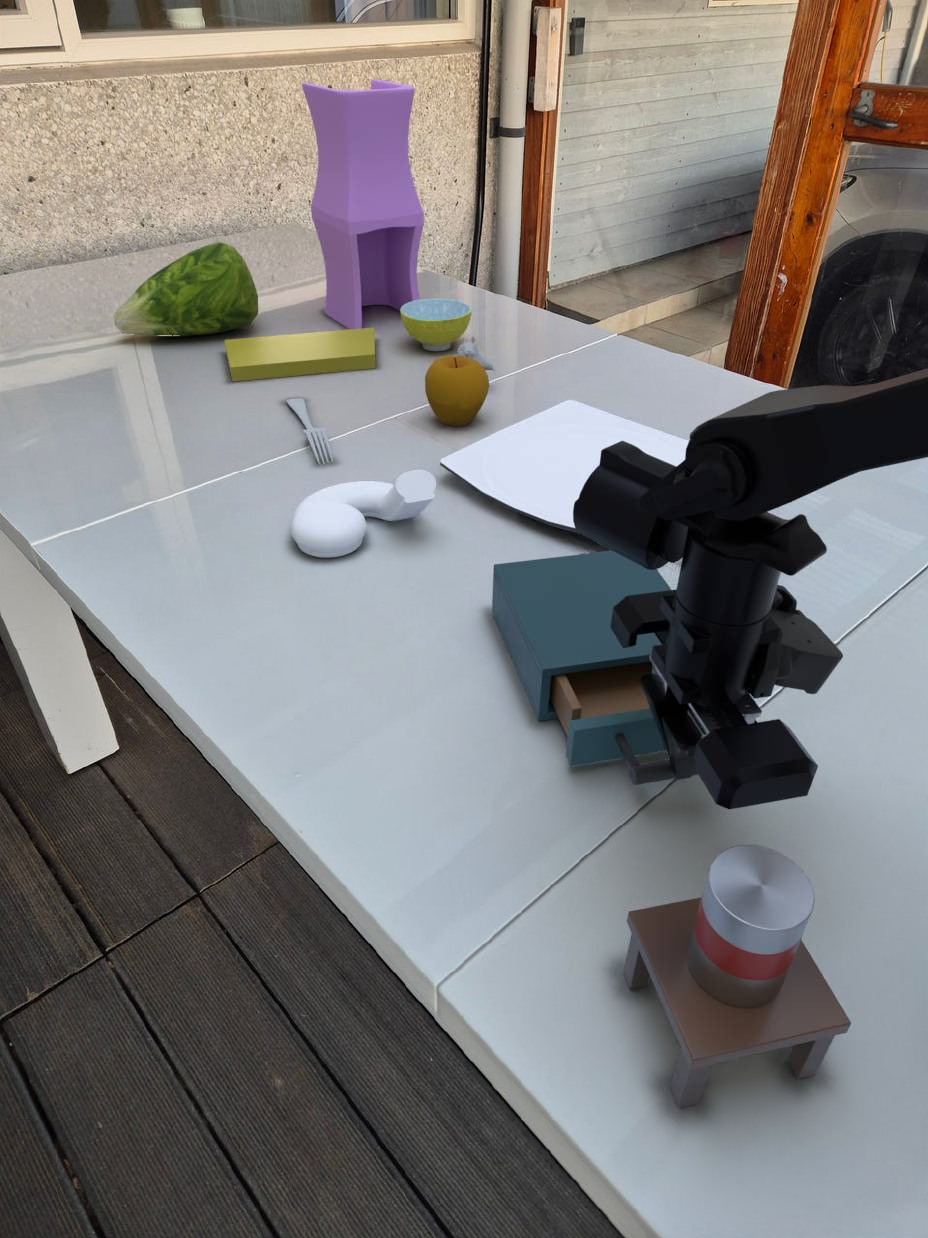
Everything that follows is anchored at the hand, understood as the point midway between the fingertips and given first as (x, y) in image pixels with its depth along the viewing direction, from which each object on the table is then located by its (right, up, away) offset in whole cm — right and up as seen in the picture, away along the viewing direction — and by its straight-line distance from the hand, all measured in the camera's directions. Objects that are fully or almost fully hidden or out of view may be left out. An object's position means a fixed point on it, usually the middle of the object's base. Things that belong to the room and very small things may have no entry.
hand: (682, 775), depth 64 cm
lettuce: (-61, +59, +85) cm, 120 cm away
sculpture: (-28, +21, +34) cm, 49 cm away
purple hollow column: (-32, +65, +94) cm, 118 cm away
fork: (-36, +36, +55) cm, 75 cm away
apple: (-17, +38, +58) cm, 71 cm away
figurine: (-15, +45, +67) cm, 82 cm away
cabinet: (-4, +8, +17) cm, 19 cm away
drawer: (-2, +4, +9) cm, 10 cm away
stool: (-1, -13, -11) cm, 17 cm away
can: (-1, -8, -15) cm, 17 cm away
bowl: (-20, +56, +81) cm, 100 cm away
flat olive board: (-40, +52, +76) cm, 100 cm away
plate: (-1, +28, +44) cm, 52 cm away
